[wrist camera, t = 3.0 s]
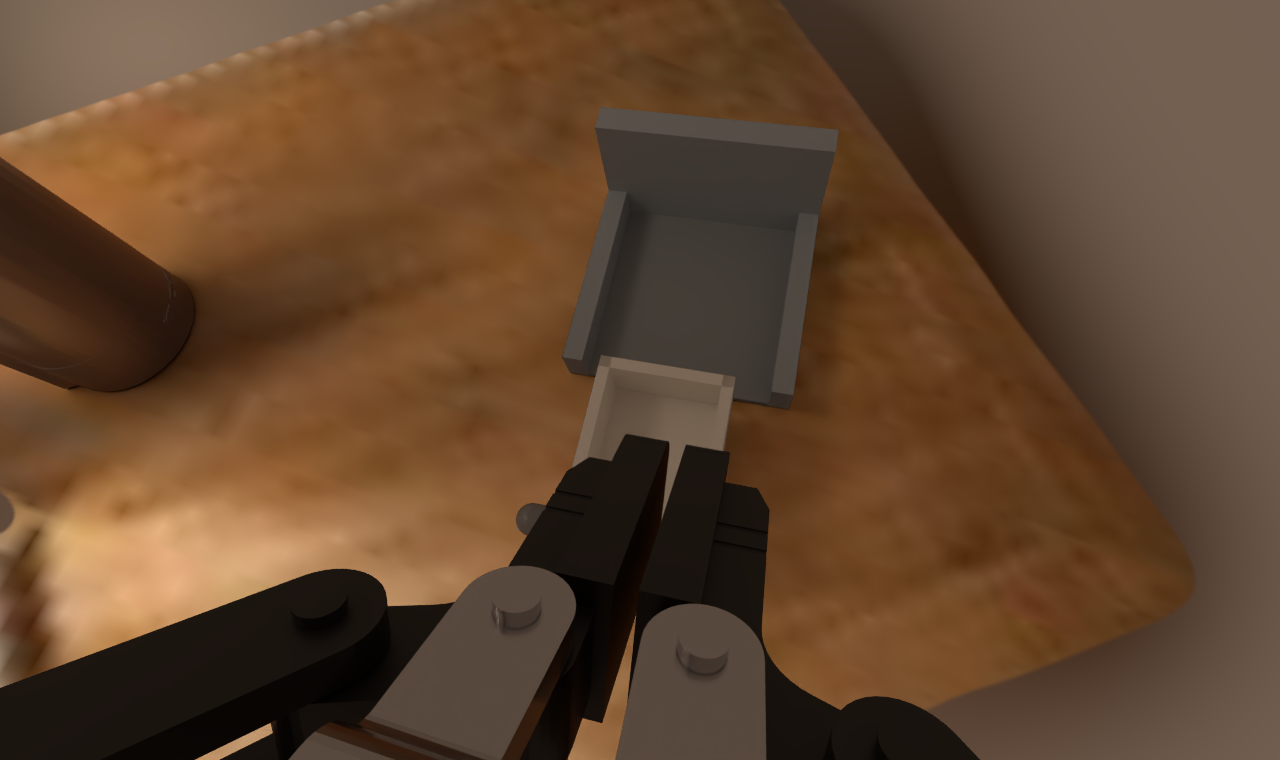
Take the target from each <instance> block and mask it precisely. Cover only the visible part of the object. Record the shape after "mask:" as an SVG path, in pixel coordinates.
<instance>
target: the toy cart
mask: <svg viewBox="0 0 1280 760" xmlns="http://www.w3.org/2000/svg"><path fill="white" fill-rule="evenodd" d="M735 378H736V377H733V376H727V375H721V374H715V373H709V372H702V371H696V370H690V369H684V368H678V367H672V366H665V365H659V364H653V363H647V362H641V361H635V360H628V359H622V358H616V357H610V356H604V355H601V357H600V361H599V365H598V369H597V373H596V376H595V380H594V384H593V388H592V392H591V396H590V400H589V404H588V408H587V412H586V415H585V419H584V423H583V427H582V431H581V435H580V439H579V443H578V447H577V450H576V454H575V458H574V462H573V466H572V468H573V467H574V466H576V465H577V464H579V463H581V462H582V461H584V460H585V459H587V458H588V457H593V458H598V459H604V460H609V461H612V459H613V457H614V455H615V453H616V451H617V449H618V447H619V445H620V443H621V441H622V439H623V437H624V436H625V434H631V435H636V436H642V437H647V438H653V439H659V440H664V441H669V444H670V449H669V460H668V468H667V477H666V485H665V494H664V503H663V511H662V517H663V514H664V511H665V508H666V505H667V502H668V499H669V495H670V492H671V489H672V486H673V483H674V480H675V477H676V474H677V471H678V467H679V464H680V461H681V458H682V455H683V452H684V449H685V446H686V445H692V446H698V447H703V448H709V449H714V450H720V451H724V450H725V444H726V438H727V433H728V427H729V421H730V416H731V410H732V404H733V396H734V387H735ZM545 508H546V505H541V504H536V503H530V504H526V505H524V506H523V507H522V508H521V509H520V510H519V511H518V513H517V516H516V524H517V528H516V529H517V530H519V531H521V532H522V533H523V534H525V535H528V534H529V532H530V531H531V529H532V527H533V526H534V524H535V522H536V521H537V519H538V518H539V516H540V514H541V513H542V511H543V510H545Z"/></svg>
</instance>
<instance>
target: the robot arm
mask: <svg viewBox="0 0 1280 760" xmlns="http://www.w3.org/2000/svg"><path fill="white" fill-rule="evenodd" d="M193 315H194V305H193V300H192V296H191V294H190V292H189V290H188V288H187V286H186V285H185V284H184V283H183V282H182V281H181V280H180V279H179V278H177V277H176V276H174V275H173V274H171V273H170V272H168V271H167V270H165V269H164V268H162V267H161V266H159V265H158V264H156V263H155V262H153V261H152V260H151V259H149V258H148V257H146V256H145V255H143V254H142V253H140V252H139V251H137V250H136V249H135V248H133V247H132V246H130V245H129V244H127V243H126V242H124V241H123V240H121V239H120V238H119V237H117V236H116V235H114V234H113V233H111V232H110V231H108V230H107V229H105V228H104V227H102V226H101V225H99V224H98V223H96V222H95V221H93V220H92V219H91V218H89V217H88V216H86V215H85V214H83V213H82V212H80V211H79V210H77V209H76V208H74V207H73V206H71V205H70V204H68V203H67V202H65V201H64V200H63V199H61V198H60V197H58V196H57V195H55V194H54V193H52V192H51V191H49V190H48V189H46V188H45V187H43V186H42V185H40V184H39V183H37V182H36V181H35V180H33V179H32V178H30V177H29V176H27V175H26V174H24V173H23V172H21V171H20V170H18V169H17V168H15V167H14V166H12V165H11V164H10V163H8V162H7V161H5V160H4V159H2V158H1V157H0V364H2V365H4V366H7V367H9V368H12V369H15V370H17V371H20V372H22V373H25V374H27V375H30V376H33V377H35V378H38V379H40V380H43V381H46V382H48V383H51V384H53V385H56V386H59V387H61V388H64V389H67V388H70V387H73V386H83V387H86V388H89V389H92V390H95V391H105V392H110V391H118V390H123V389H126V388H130V387H133V386H136V385H138V384H140V383H142V382H144V381H146V380H148V379H150V378H151V377H152V376H154V375H155V374H156V373H158V372H159V371H161V370H162V369H163V368H164V367H165V366H166V365H167V364H168V363H169V362H170V361H171V360H172V359H173V358H174V357H175V356H176V354H177V353H178V352H179V350H180V349H181V348H182V346H183V344H184V343H185V341H186V339H187V337H188V335H189V333H190V329H191V326H192V322H193ZM669 449H670V444H669V441H664V440H659V439H653V438H647V437H642V436H636V435H631V434H625V436H624V437H623V439H622V441H621V443H620V445H619V447H618V449H617V451H616V453H615V455H614V457H613V459H612V461H609V460H604V459H598V458H593V457H588V458H587V459H585V460H584V461H582V462H581V463H579V464H577V465H576V466H574V467H573V468H571V469H569V470H568V471H567V472H566V474H565V475H564V477H563V479H562V480H561V482H560V484H559V485H558V487H557V488H556V491H555V494H553V495H552V497H551V498H550V500H549V501H548V503H547V505H546V508H545V510H543V511H542V513H541V514H540V516H539V518H538V519H537V521H536V522H535V524H534V526H533V527H532V529H531V531H530V532H529V534H528V535H527V537H526V539H525V540H524V542H523V544H522V545H521V547H520V548H519V550H518V552H517V553H516V555H515V556H514V558H513V560H512V561H511V563H510V565H509V566H508V567H504V568H500V569H496V570H493V571H491V572H488V573H486V574H484V575H482V576H480V577H479V578H477V579H476V580H474V581H473V582H472V583H471V584H469V585H468V587H467V588H466V589H465V590H464V591H463V592H462V594H461V595H460V596H459V597H458V599H457V600H456V601H455V602H452V603H447V604H438V605H413V606H388V605H387V597H386V591H385V589H384V587H383V585H382V584H381V583H380V582H379V581H378V580H377V579H376V578H374V577H373V576H371V575H369V574H367V573H364V572H361V571H357V570H351V569H330V570H323V571H318V572H314V573H310V574H307V575H304V576H301V577H298V578H296V579H293V580H290V581H288V582H285V583H282V584H280V585H277V586H274V587H272V588H269V589H266V590H263V591H261V592H258V593H255V594H253V595H250V596H247V597H245V598H242V599H239V600H236V601H234V602H231V603H228V604H226V605H223V606H220V607H218V608H215V609H212V610H209V611H207V612H204V613H201V614H199V615H196V616H193V617H191V618H188V619H185V620H182V621H180V622H177V623H174V624H172V625H169V626H166V627H164V628H161V629H158V630H156V631H153V632H150V633H147V634H145V635H142V636H139V637H137V638H134V639H131V640H129V641H126V642H123V643H120V644H118V645H115V646H112V647H110V648H107V649H104V650H102V651H99V652H96V653H93V654H91V655H88V656H85V657H83V658H80V659H77V660H75V661H72V662H69V663H66V664H64V665H61V666H58V667H56V668H53V669H50V670H48V671H45V672H42V673H40V674H37V675H34V676H31V677H29V678H26V679H23V680H21V681H18V682H15V683H13V684H10V685H7V686H4V687H2V688H0V760H195V759H197V758H199V757H201V756H203V755H205V754H207V753H209V752H211V751H214V750H216V749H218V748H220V747H222V746H224V745H226V744H228V743H230V742H232V741H234V740H236V739H238V738H240V737H242V736H244V735H246V734H249V733H251V732H253V731H255V730H257V729H259V728H261V727H263V726H265V725H267V724H269V723H271V727H272V731H273V733H272V734H270V735H268V736H266V737H264V738H262V739H260V740H258V741H256V742H254V743H252V744H250V745H248V746H246V747H244V748H242V749H240V750H238V751H236V752H234V753H232V754H230V755H228V756H226V757H224V758H222V759H220V760H568V756H569V754H570V751H571V749H572V747H573V744H574V741H575V738H576V735H577V732H578V729H579V726H580V723H581V721H582V718H584V719H588V720H592V721H596V722H600V723H602V722H603V719H604V716H605V712H606V709H607V706H608V703H609V700H610V696H611V693H612V690H613V687H614V683H615V680H616V677H617V674H618V671H619V667H620V664H621V661H622V658H623V655H624V651H625V648H626V645H627V642H628V639H629V635H630V632H631V629H632V626H633V623H634V619H635V616H636V624H635V633H634V643H633V653H632V662H631V672H630V682H629V691H628V701H627V708H626V712H625V717H624V722H623V726H622V731H621V736H620V741H619V745H618V750H617V755H616V759H615V760H980V759H978V757H977V756H976V755H975V754H974V753H973V752H972V751H971V750H970V749H969V748H968V747H967V746H966V745H965V743H964V742H962V740H961V739H960V738H959V737H958V736H957V735H956V734H955V733H954V732H953V731H952V730H951V729H950V728H949V727H948V726H947V725H945V724H944V723H943V722H941V721H940V720H939V719H938V718H936V717H935V716H933V715H932V714H930V713H928V712H927V711H925V710H923V709H921V708H919V707H917V706H915V705H913V704H911V703H908V702H905V701H902V700H899V699H894V698H889V697H879V696H874V697H865V698H861V699H857V700H855V701H853V702H851V703H849V704H847V705H846V706H845V707H844V708H843V709H842V710H839V709H837V708H835V707H833V706H832V705H830V704H828V703H826V702H824V701H822V700H820V699H818V698H816V697H815V696H813V695H811V694H809V693H807V692H806V691H804V690H802V689H801V688H799V687H798V686H797V685H795V684H794V683H793V682H791V681H790V680H789V679H788V678H787V677H786V676H785V675H784V674H782V673H781V672H780V670H779V669H778V668H777V667H776V665H775V664H774V663H773V662H772V660H771V658H770V657H769V655H768V653H767V651H766V649H765V646H764V643H763V639H762V613H763V598H764V583H765V568H766V552H767V539H768V536H767V535H768V524H769V508H768V506H767V505H766V503H765V501H764V499H763V498H762V496H761V494H760V492H759V490H758V489H757V488H752V487H747V486H742V485H736V484H731V483H726V482H725V480H726V474H727V467H728V461H729V454H730V452H725V451H720V450H714V449H709V448H703V447H698V446H692V445H686V446H685V449H684V452H683V455H682V458H681V461H680V464H679V467H678V471H677V474H676V477H675V480H674V483H673V486H672V489H671V492H670V495H669V499H668V502H667V505H666V508H665V511H664V514H663V517H662V511H663V503H664V494H665V485H666V477H667V468H668V460H669ZM636 613H637V614H636Z"/></svg>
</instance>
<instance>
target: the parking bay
mask: <svg viewBox="0 0 1280 760" xmlns="http://www.w3.org/2000/svg"><path fill="white" fill-rule="evenodd" d="M595 130H596V134H597V139H598V143H599V148H600V152H601V157H602V162H603V166H604V171H605V175H606V180H607V184H608V189H609V191H608V195H607V198H606V202H605V206H604V209H603V213H602V216H601V220H600V223H599V227H598V231H597V234H596V238H595V241H594V245H593V249H592V252H591V256H590V259H589V263H588V266H587V270H586V274H585V277H584V281H583V284H582V288H581V292H580V295H579V299H578V302H577V306H576V309H575V313H574V317H573V320H572V324H571V327H570V331H569V335H568V338H567V342H566V345H565V349H564V352H563V356H562V358H563V360H564V362H565V363H566V365H567V367H568V369H569V371H570V373H576V374H582V375H588V376H594V377H595V376H596V373H597V369H598V365H599V361H600V357H601V355H604V356H610V357H616V358H622V359H628V360H635V361H641V362H647V363H653V364H659V365H665V366H672V367H678V368H684V369H690V370H696V371H702V372H709V373H715V374H721V375H727V376H733V377H736V378H735V387H734V396H733V400H736V401H742V402H748V403H754V404H760V405H766V406H772V407H778V408H784V409H789V406H790V403H791V401H792V398H793V395H794V388H795V381H796V374H797V366H798V359H799V352H800V345H801V338H802V331H803V324H804V317H805V310H806V303H807V296H808V289H809V281H810V274H811V267H812V260H813V253H814V246H815V239H816V232H817V225H818V218H819V213H820V209H821V205H822V201H823V198H824V194H825V190H826V186H827V182H828V179H829V175H830V171H831V167H832V163H833V160H834V156H835V152H836V145H837V138H838V130H833V129H823V128H813V127H802V126H792V125H782V124H771V123H761V122H750V121H740V120H730V119H719V118H709V117H699V116H688V115H678V114H668V113H657V112H647V111H637V110H626V109H616V108H605V107H601V109H600V112H599V116H598V119H597V122H596V126H595Z"/></svg>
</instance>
